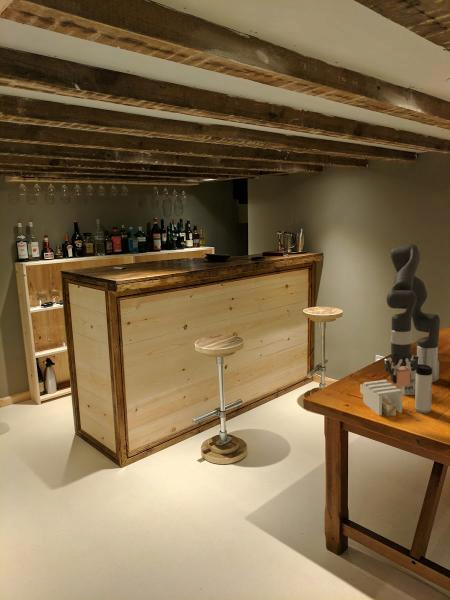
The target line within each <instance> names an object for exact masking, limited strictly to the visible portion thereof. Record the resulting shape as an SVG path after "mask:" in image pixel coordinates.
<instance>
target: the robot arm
mask: <svg viewBox="0 0 450 600" xmlns="http://www.w3.org/2000/svg"><path fill="white" fill-rule="evenodd" d="M420 257H421V255H420V251H419V247H418V246H417V244H414V243H413V244H407V245H402V246H397V247H393V248H392V249H391V250H390V259H391V261H392V264H393V267H394V269H395V272H396V275H395V277H394V279H393V281H394V282H393V285H392V286H391V289H389V290H388V293H387V295H386V304H387V306H388V307H389V308H390V309H397V310H398V309H399V310H400V309H401V310H402V309H403V310H405V311H404V312H401V313H400V312H399V313H396V314H393V315H392V316H391V331H390V332H391V333H390V356H389V358H383V364H384V368H385V372H386V374H387V373H388V374H389V375H390V381H392V382H393V383H394V384H393V383H392V382H391V383H392V384H393V385H395V384H396V383H397V375H396V374H397V371H398V370H399V367H401V366H404V368H407V369H408V370H410V380H411V372H412V371H415V370H416V366H417V362H418V364H423V365H428V366H429V367H431V368H432V383H436V382H437V381H439V380H440V378H439V377H440V360H438V355H439V354H438V353H439V352H438V351H439V337H440V328H441V319H440V316H439V315H438V314H436V313H428V312H423V311H422V307H423V305H424V304H425V303H426V300H427V299H428V291H427V288H426V286H425V283H424V281H423V280H422V279H421V278H419V277H418V276H416V272H417V270H418V267H419V265H420V260H421V258H420ZM412 323H413V327H414V329H415V330H416V332H417V331H418V332H421V333H428V336H424V337H420V338H418V339H417V341H416V355H415V354H412V348H413V347H412V346H413V345H412V341H413V339H412V337H413V336H412ZM410 359H411V363H410V364H409V361H410Z"/></svg>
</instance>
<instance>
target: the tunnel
mask: <svg viewBox="0 0 450 600" xmlns="http://www.w3.org/2000/svg"><path fill="white" fill-rule="evenodd" d="M362 384H363V395H362V403H364V405H366V406H367V407H368V408H369V409H371V411H373V412H375V414H377V415H378V416H382V415H383V412H382V396H384V397H385V398H387V399H388V400H389V401H390V402H392V403H393V404H394V405H395V406H396V412H398V413H403V394H402V390H400V389H397V387H396V385H393V383H392V382H388V380H386V379H381V380H374V381H366V382H363V383H362Z"/></svg>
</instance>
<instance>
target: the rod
mask: <svg viewBox="0 0 450 600" xmlns="http://www.w3.org/2000/svg"><path fill="white" fill-rule="evenodd" d="M363 384H364V383H360V384H359V385H360V386H359V388H360V389H359V392H360V395H362V396H363ZM382 414H384V415H385V416H387V417H394V416H395V417H396V416H397V410H396V406H395V405H394V404H393V403H392V402H390V401H389V400H388V399H387V398H385V397H384V396H382Z"/></svg>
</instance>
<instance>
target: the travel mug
mask: <svg viewBox="0 0 450 600" xmlns="http://www.w3.org/2000/svg"><path fill="white" fill-rule="evenodd" d="M432 389H433V382H432V368H431V367H429V366H428V365H423V364H417V366H416V385H415V396H414V411H416V412H417V413H419V414H430V413H432V401H433V400H432V397H433V395H432V394H433V391H432Z"/></svg>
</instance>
